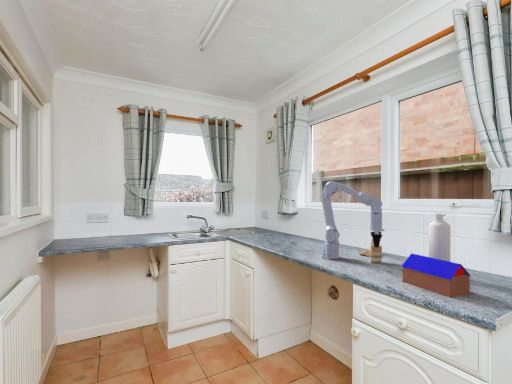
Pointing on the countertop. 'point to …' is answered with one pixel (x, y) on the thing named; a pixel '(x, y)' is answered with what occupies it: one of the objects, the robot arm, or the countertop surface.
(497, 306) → the countertop surface
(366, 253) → the bone
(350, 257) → the countertop surface
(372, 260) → the tower bottom
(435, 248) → the bottle
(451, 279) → the house
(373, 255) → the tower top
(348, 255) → the countertop surface
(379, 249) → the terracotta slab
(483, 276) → the countertop surface
